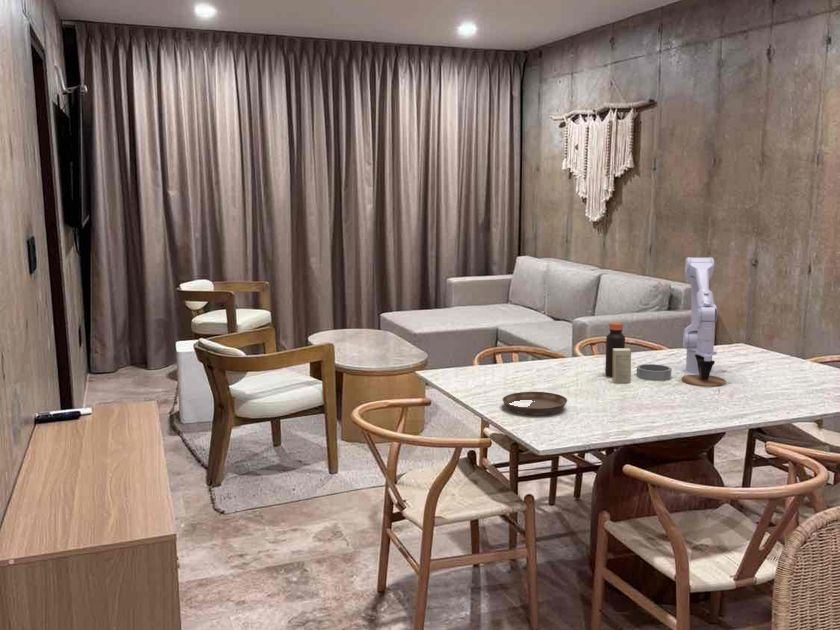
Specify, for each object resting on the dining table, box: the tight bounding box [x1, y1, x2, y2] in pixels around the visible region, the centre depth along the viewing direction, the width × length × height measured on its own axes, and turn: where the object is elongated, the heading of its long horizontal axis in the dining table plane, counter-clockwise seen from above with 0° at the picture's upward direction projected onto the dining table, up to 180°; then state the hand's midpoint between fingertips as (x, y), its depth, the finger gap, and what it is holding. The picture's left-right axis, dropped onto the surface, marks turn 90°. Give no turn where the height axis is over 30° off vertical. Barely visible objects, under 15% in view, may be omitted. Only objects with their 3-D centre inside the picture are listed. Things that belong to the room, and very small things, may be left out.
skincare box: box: [611, 347, 632, 384], centre depth 285 cm, size 6×4×12 cm
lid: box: [681, 369, 726, 388], centre depth 283 cm, size 15×15×5 cm
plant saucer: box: [502, 391, 568, 416], centre depth 252 cm, size 21×21×3 cm
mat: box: [674, 378, 732, 389], centre depth 283 cm, size 14×14×1 cm
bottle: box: [604, 322, 626, 378], centre depth 294 cm, size 7×7×20 cm
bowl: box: [635, 363, 673, 382], centre depth 291 cm, size 12×12×4 cm
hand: (703, 376), depth 283 cm, fingers open, 7 cm apart
